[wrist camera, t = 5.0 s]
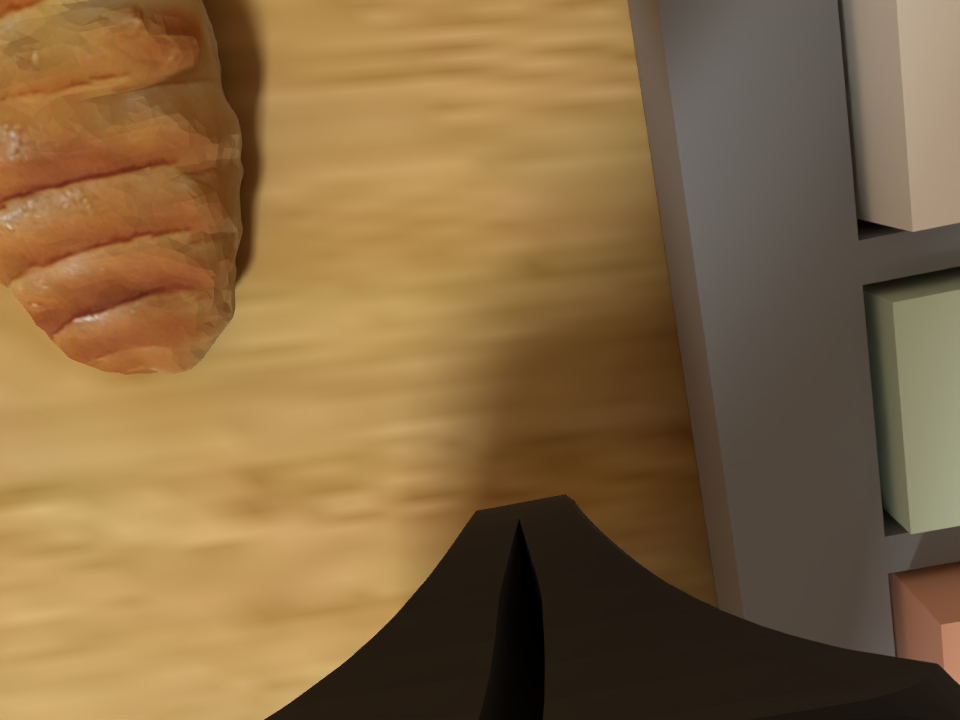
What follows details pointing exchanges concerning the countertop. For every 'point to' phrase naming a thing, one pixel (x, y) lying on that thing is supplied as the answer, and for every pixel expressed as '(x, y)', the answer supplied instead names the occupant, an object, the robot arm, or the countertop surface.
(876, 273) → the panel
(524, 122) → the countertop surface
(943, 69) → the cream button
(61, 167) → the pastry
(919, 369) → the sage button
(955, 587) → the terracotta button
